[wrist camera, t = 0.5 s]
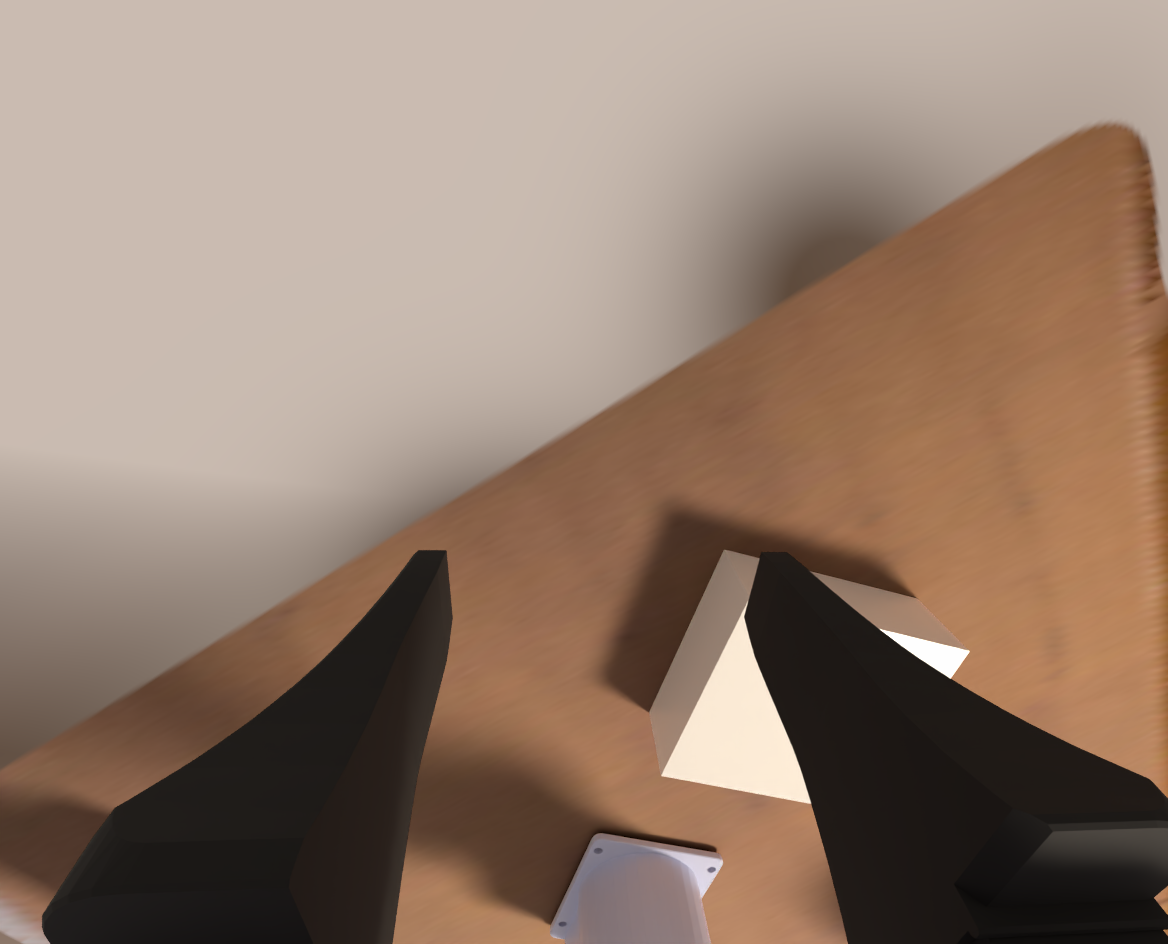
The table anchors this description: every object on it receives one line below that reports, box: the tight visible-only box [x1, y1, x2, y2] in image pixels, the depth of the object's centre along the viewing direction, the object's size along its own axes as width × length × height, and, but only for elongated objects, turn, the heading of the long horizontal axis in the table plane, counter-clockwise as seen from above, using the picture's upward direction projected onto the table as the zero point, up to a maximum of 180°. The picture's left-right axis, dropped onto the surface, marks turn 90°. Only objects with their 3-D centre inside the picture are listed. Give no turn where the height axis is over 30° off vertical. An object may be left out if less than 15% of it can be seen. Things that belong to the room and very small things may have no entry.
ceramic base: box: [649, 549, 969, 804], centre depth 26 cm, size 10×10×4 cm
